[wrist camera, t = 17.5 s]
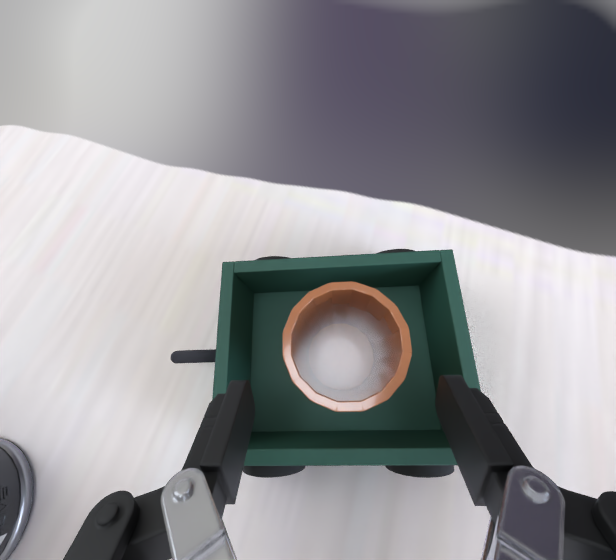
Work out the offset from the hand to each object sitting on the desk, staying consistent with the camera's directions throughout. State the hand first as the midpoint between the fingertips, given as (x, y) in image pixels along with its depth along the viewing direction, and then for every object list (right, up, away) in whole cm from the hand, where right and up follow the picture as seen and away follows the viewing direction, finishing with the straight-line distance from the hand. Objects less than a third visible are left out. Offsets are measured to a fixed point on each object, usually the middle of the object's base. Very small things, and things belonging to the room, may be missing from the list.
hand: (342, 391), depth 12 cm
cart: (+1, -1, +10) cm, 10 cm away
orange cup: (+1, -1, +9) cm, 9 cm away
